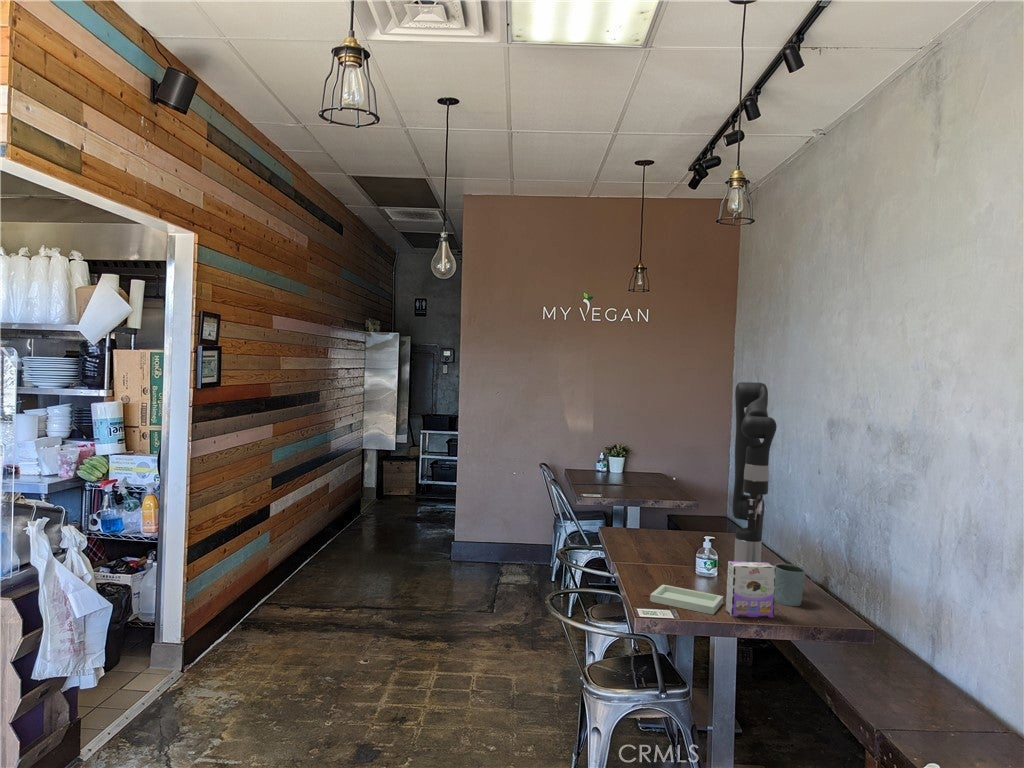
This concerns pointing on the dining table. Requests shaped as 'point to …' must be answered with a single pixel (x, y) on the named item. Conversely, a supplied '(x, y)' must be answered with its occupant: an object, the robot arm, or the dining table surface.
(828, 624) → the dining table surface
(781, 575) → the green cup
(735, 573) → the candy box
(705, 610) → the tray
